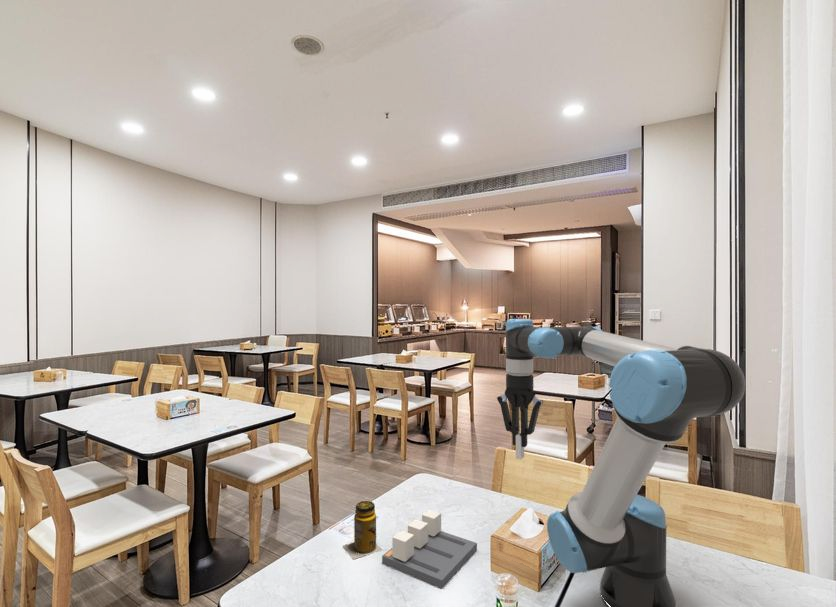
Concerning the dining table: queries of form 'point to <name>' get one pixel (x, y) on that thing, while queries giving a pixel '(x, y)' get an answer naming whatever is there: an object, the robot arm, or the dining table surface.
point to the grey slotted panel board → (435, 559)
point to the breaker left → (403, 545)
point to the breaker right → (432, 521)
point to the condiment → (363, 531)
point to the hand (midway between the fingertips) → (520, 457)
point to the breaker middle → (419, 532)
